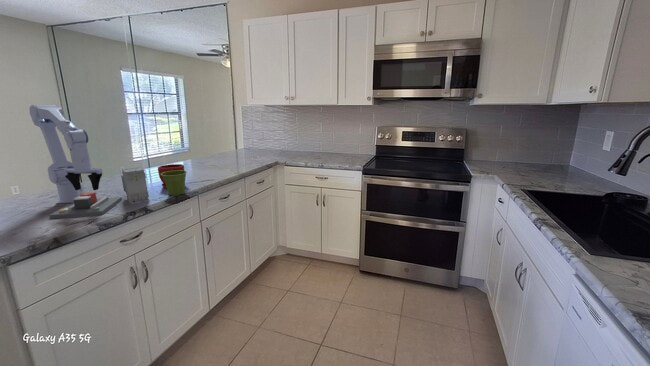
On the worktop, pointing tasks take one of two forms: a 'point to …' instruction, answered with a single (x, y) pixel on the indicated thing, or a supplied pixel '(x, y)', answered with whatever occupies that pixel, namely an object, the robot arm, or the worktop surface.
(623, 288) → the worktop surface
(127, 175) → the circuit breaker
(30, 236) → the worktop surface
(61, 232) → the worktop surface
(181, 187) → the plant pot
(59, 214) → the breaker panel
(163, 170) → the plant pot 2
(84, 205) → the breaker handle
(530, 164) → the worktop surface
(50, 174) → the robot arm
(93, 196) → the red rectangular block
